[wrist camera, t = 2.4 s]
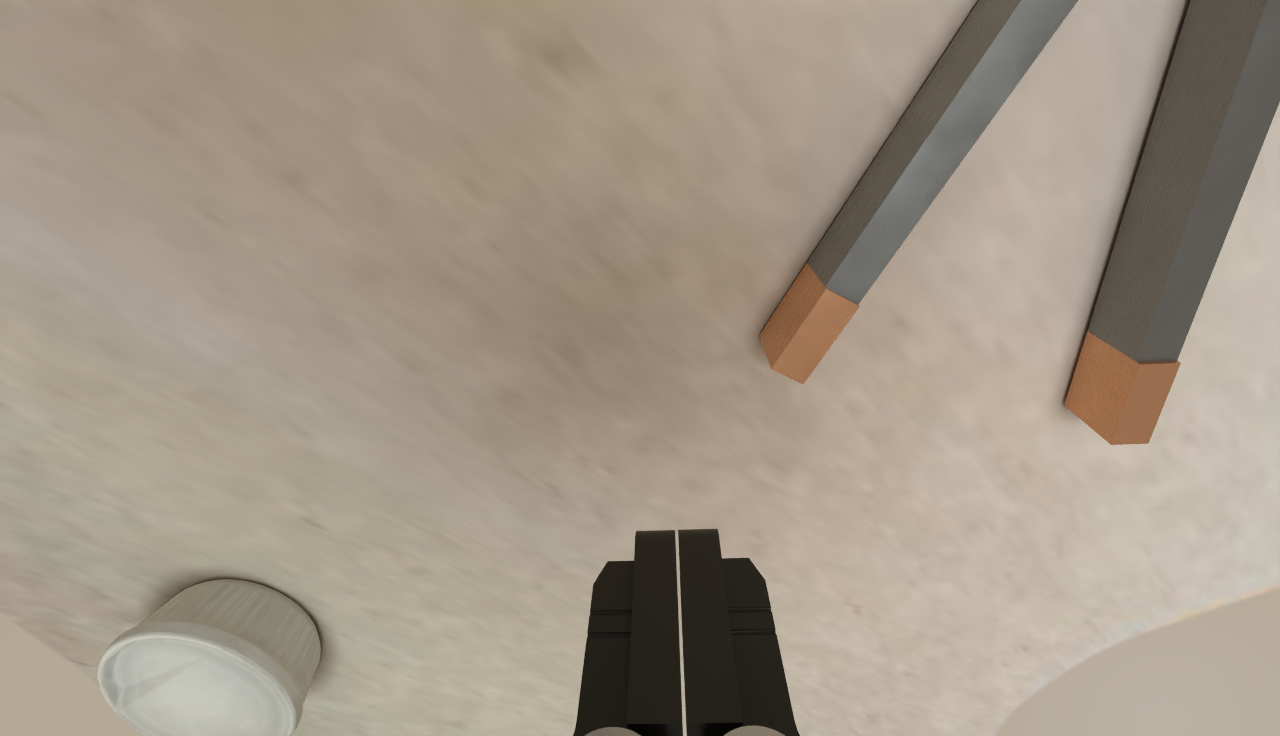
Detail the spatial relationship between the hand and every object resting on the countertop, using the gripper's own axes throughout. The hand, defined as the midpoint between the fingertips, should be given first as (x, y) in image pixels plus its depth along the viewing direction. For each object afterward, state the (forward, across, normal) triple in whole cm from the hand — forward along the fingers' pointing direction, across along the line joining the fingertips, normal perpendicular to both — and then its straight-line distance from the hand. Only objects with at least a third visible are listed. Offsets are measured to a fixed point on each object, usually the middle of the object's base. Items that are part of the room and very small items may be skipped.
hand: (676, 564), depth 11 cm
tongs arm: (+18, -11, -7) cm, 22 cm away
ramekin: (+18, +28, +23) cm, 41 cm away
